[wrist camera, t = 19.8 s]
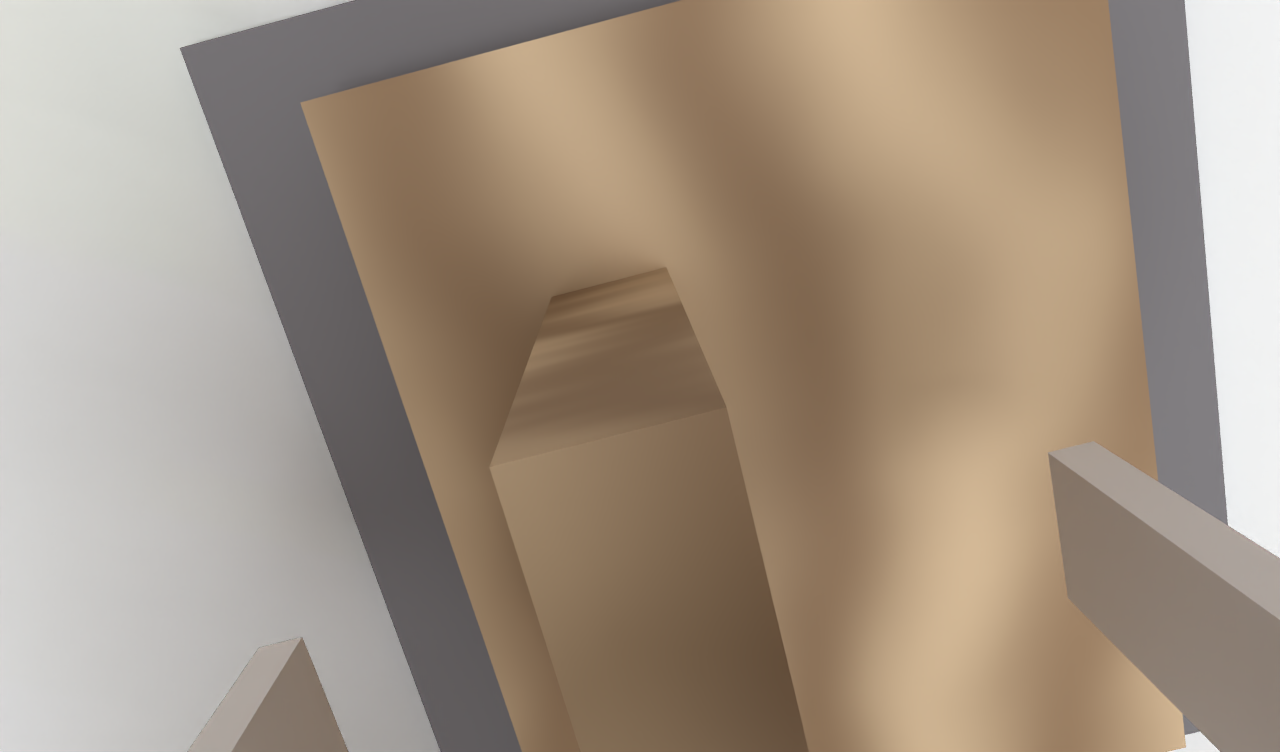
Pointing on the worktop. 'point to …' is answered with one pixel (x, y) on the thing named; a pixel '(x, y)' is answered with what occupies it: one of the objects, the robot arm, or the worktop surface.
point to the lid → (767, 366)
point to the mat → (358, 365)
